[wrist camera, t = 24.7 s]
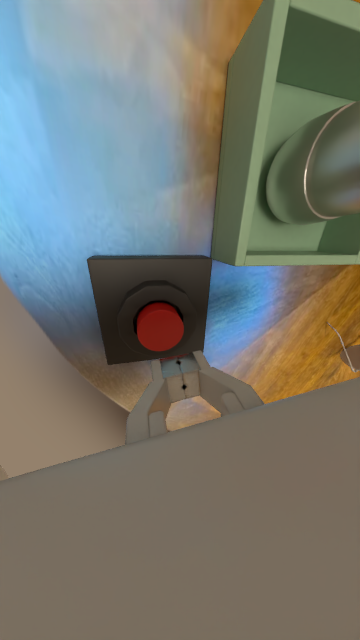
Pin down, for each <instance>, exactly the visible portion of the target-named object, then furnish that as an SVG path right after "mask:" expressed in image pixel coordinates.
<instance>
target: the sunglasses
mask: <svg viewBox="0 0 360 640" xmlns="http://www.w3.org/2000/svg"><path fill="white" fill-rule="evenodd" d="M327 323H328V322H327ZM328 325H329V326H330V327H332V326H331V325H330V324H329V323H328ZM332 328H333V327H332ZM333 329H334V328H333ZM334 330H335V329H334ZM335 331H336V330H335ZM336 333H337V334H338V336H339V338H340V341H341V344H342V345H343V342H342V339H341V337H340V335H339V333H338V332H337V331H336ZM343 348H344V345H343ZM340 357H341V359H342V361H343V362H344V363H345V364H347V365H348V366H350V367H351V370H352V371H353V372H357V371H358V370H359V371H360V345H354V346H351V347H348V348H346V349H345V348H344V350H343V351H342V352H341V354H340ZM354 369H355V370H354Z"/></svg>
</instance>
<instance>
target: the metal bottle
mask: <svg viewBox="0 0 360 640" xmlns="http://www.w3.org/2000/svg"><path fill="white" fill-rule="evenodd" d="M266 199H267V203H268V206H269V207H270V209H271V211H272V213H273V214H274V215H275V216H276V218H277V219H279V220H281V221H282V222H286V223H290V224H296V225H310V224H314V223H319V222H324V221H328V220H331V219H335V218H338V217H341V216H346V215H352V214H358V213H360V100H359V101H357V102H352V103H349V104H347V105H344V106H341V107H338V108H336V109H334V110H332V111H330V112H327V113H325V114H323V115H321V116H319V117H316V118H314V119H312V120H310V121H309V122H308V123H306V124H305V125H304V126H302V127H301V128H300V129H299V130H298V131H297V132H296V133H295V134H294V135H292V136H291V137H290V138H289V139H288V140H287V141H286V142H285V143H284V144H283V145H282V147H281V148H280V150H279V151H278V153H277V154H276V156H275V158H274V160H273V162H272V164H271V167H270V170H269V173H268V176H267V181H266Z"/></svg>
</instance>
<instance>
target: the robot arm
mask: <svg viewBox="0 0 360 640" xmlns="http://www.w3.org/2000/svg"><path fill="white" fill-rule="evenodd" d="M151 370H152V379H153V382H150V383H149V385H148V386H147V388H146V390H145V391H144V393H143V394H142V396H141V397H140V399H139V400H138V402H137V404H136V405H135V407H134V408H133V410H132V411H131V413H130V415H129V416H128V418H127V425H126V442H125V445H123V446H119V447H116V448H112V449H109V450H106V451H102V452H99V453H96V454H92V455H88V456H85V457H82V458H78V459H75V460H71V461H68V462H64V463H61V464H57V465H54V466H51V467H47V468H43V469H40V470H37V471H33V472H30V473H27V474H23V475H19V476H16V477H12V478H9V479H5V480H2V481H0V640H360V377H358V378H354V379H351V380H348V381H344V382H341V383H337V384H334V385H330V386H327V387H323V388H320V389H316V390H313V391H310V392H306V393H303V394H299V395H296V396H292V397H289V398H285V399H282V400H278V401H275V402H271V403H268V404H264V403H263V401H262V400H261V399H260V397H259V396H258V395H257V393H256V392H255V391H254V390H253V388H252V387H251V386H250V385H248V384H246V383H244V382H242V381H240V380H238V379H236V378H234V377H232V376H230V375H228V374H226V373H224V372H222V371H220V370H218V369H216V368H214V367H210V365H209V364H208V362H207V360H206V358H205V357H204V355H203V353H202V351H201V350H199V351H195V352H192V353H187V354H183V355H179V356H173V357H168V358H163V359H160V360H154V361H151ZM199 395H200V396H201V397H202V398H203V399H205V400H206V401H207V402H208V403H209V404H211V405H212V406H213V407H214V408H216V409H217V410H218V411H219V412H220V413H221V417H220V418H216V419H213V420H209V421H206V422H202V423H199V424H195V425H192V426H189V427H185V428H182V429H178V430H175V431H171V432H168V430H167V426H166V421H165V419H166V416H167V414H168V411H169V408H170V405H171V403H173V402H176V401H180V400H183V399H187V398H191V397H195V396H199Z"/></svg>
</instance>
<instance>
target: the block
mask: <svg viewBox="0 0 360 640" xmlns="http://www.w3.org/2000/svg"><path fill="white" fill-rule="evenodd" d="M87 263H88V268H89V273H90V278H91V283H92V288H93V293H94V298H95V303H96V308H97V313H98V318H99V323H100V328H101V333H102V339H103V344H104V349H105V354H106V359H107V364H108V365H113V364H121V363H129V362H137V361H144V360H152V359H160V358H168V357H173V356H179V355H183V354H187V353H192V352H195V351H199V350H201V351H202V353H203V350H204V339H205V329H206V318H207V308H208V298H209V287H210V277H211V266H212V258H209V257H206V256H92V257H90V258H88V259H87ZM157 302H162V303H167V304H169V305H171V306H172V307H173V308H174V309H175V310H176V311H177V313H178V315H179V316H180V318H181V320H182V322H183V325H184V332H183V336H182V338H181V340H180V341H179V342H178V343H177V344H176V345H175V346H174V347H172V348H170V349H168V350H165V351H153V350H150V349H148V348H146V347H144V346H143V345H142V344H141V342H140V341H139V339H138V335H137V318H138V315H139V313H140V312H141V310H142V309H143V308H144V307H146V306H147V305H149V304H152V303H157Z"/></svg>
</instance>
